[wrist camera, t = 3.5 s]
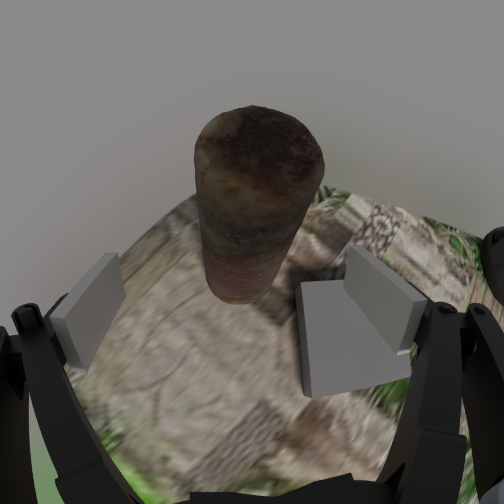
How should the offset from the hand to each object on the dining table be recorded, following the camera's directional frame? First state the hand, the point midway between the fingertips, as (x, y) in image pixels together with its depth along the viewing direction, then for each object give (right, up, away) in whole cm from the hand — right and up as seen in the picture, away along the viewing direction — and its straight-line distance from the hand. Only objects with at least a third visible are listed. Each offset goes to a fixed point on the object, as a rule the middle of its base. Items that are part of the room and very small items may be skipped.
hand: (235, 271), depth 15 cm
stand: (+12, -9, +15) cm, 21 cm away
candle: (0, -2, +17) cm, 17 cm away
